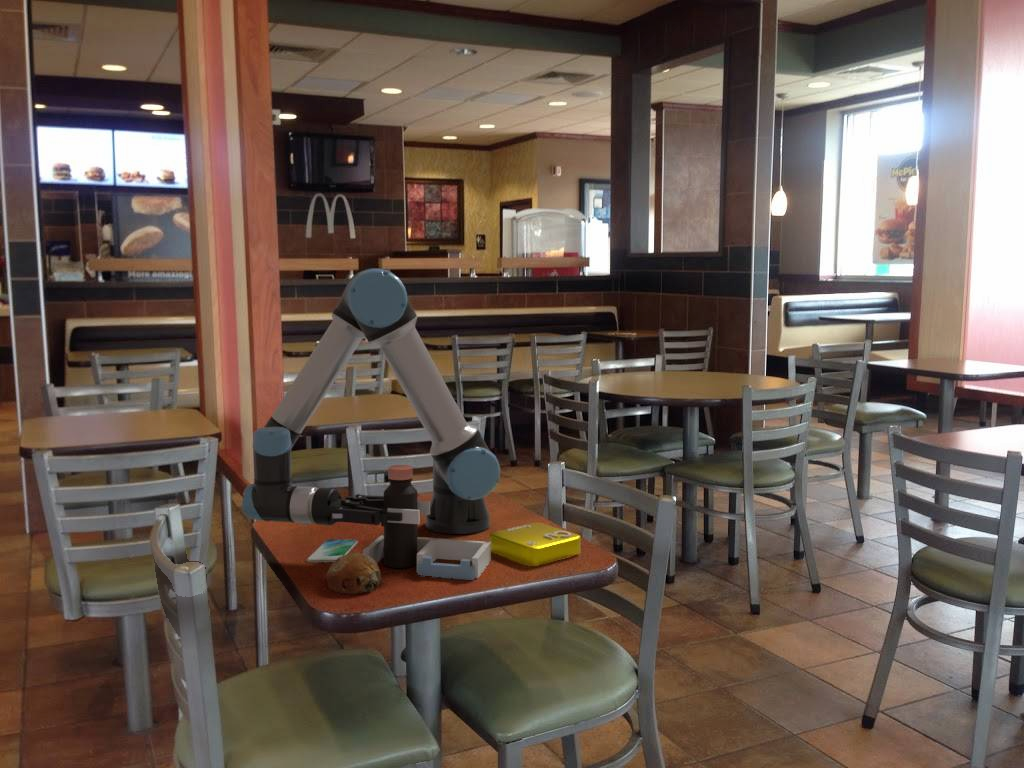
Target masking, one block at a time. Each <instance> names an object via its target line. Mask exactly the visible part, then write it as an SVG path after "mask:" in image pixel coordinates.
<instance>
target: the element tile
mask: <svg viewBox="0 0 1024 768" xmlns="http://www.w3.org/2000/svg"><path fill="white" fill-rule="evenodd" d="M581 538H582V537H581V535H579V534H577V533H574V532H572V531H568V530H564V529H562V528H558V527H555V526H552V525H549V524H546V523H542V522H532V523H527V524H522V525H519V526H514V527H510V528H506V529H505V528H504V529H501V530H497V531H493V532H490V534H489V542H491V552H492V553H491V554H493V553H495V554H494V555H496V554H498V555H497V556H499V555H500V556H499V557H501V556H503V557H502V558H504V557H506V558H508V559H507V560H509V559H511V560H510V561H512V560H514V561H516V562H515V563H517V562H519V563H518V564H520V563H521V564H520V565H522V564H524V565H523V566H525V565H528V566H527V567H530V566H537V565H541V564H545V563H548V562H551V561H555V560H558V559H561V558H565V557H568V556H571V555H576V554H579V553H580V554H581V547H582V546H581V543H582V541H581V540H582V539H581ZM506 558H505V559H506ZM514 561H513V562H514ZM545 565H546V564H545ZM537 567H538V566H537Z"/></svg>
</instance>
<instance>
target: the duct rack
mask: <svg viewBox="0 0 1024 768" xmlns="http://www.w3.org/2000/svg"><path fill="white" fill-rule="evenodd" d="M362 554H365V555H367V556H370V557H371V558H372V559H374V560H375V561H376V563H377V564H378V563H379V562H380V561H381V560H382V559H384V534H381V535H380V536H378V537H377V538H376V539H375V540H373V541H372V542H371V543H369V544H368V545H367V546H366V547H364V548H363V549H362ZM491 559H492V553H491V542H490V541H480V540H469V539H468V540H465V539H454V538H453V539H451V538H439V537H437V538H436V537H424V536H422V537H421V536H417V563H416V574H417V573H418V574H417V576H418V575H421V576H420V577H425V576H432V577H431V578H438V577H441V578H440V579H451V578H453V580H464V581H465V580H467V581H475V579H479V578H480V576H481V575H482V574H483V572H484V571H485V570H486V568H487V567H488V566H489V564H490V563H491V562H492V561H491ZM436 560H447V561H448V560H449V561H460V563H459V564H455V563H441V562H436ZM433 562H434V563H433ZM489 562H490V563H489ZM486 566H487V567H486ZM481 573H482V574H481ZM422 575H423V576H422Z"/></svg>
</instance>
